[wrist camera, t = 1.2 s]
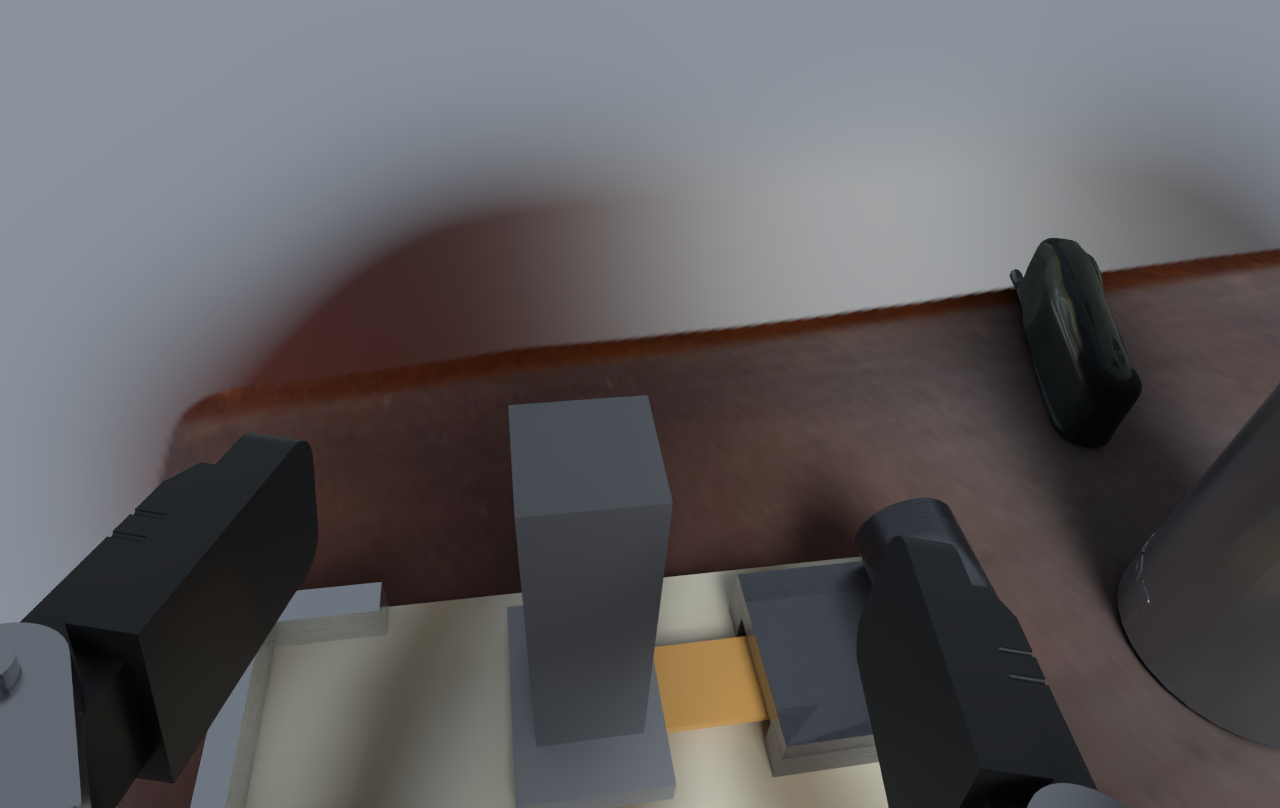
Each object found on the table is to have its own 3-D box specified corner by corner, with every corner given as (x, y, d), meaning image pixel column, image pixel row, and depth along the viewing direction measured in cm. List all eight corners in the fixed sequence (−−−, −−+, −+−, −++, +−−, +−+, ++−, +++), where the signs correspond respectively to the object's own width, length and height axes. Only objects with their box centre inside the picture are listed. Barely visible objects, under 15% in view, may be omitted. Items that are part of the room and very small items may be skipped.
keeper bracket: (389, 606, 31) (381, 582, 30) (367, 901, 24) (356, 884, 23) (251, 621, 30) (238, 596, 29) (187, 930, 23) (165, 914, 22)
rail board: (914, 569, 35) (925, 549, 34) (1027, 810, 28) (1044, 794, 27) (257, 642, 31) (246, 621, 30) (197, 943, 24) (180, 931, 23)
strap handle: (930, 577, 33) (1067, 322, 23) (1013, 748, 28) (1227, 512, 18) (509, 623, 30) (476, 360, 21) (517, 821, 25) (481, 590, 16)
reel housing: (920, 588, 33) (970, 493, 28) (992, 745, 28) (1066, 660, 24) (728, 610, 31) (751, 514, 27) (773, 777, 27) (809, 693, 23)
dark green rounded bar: (1161, 387, 38) (1078, 214, 48) (1096, 380, 38) (1027, 208, 48) (1111, 457, 41) (1044, 281, 52) (1052, 449, 41) (997, 276, 52)
